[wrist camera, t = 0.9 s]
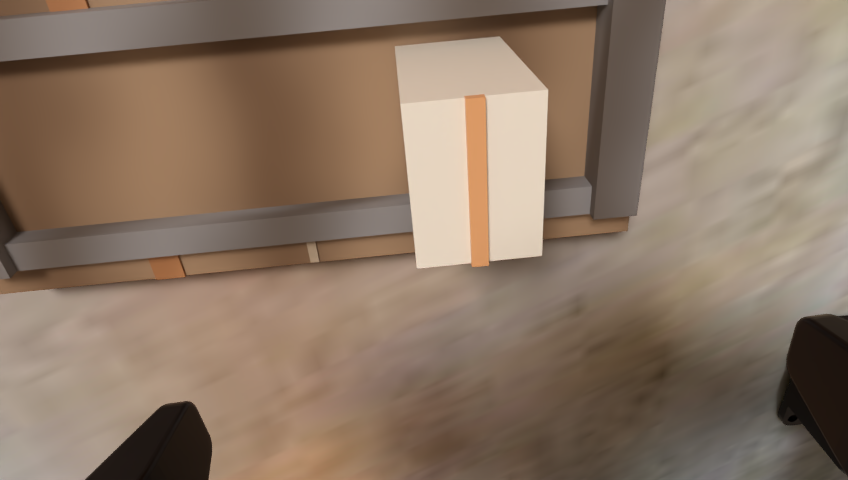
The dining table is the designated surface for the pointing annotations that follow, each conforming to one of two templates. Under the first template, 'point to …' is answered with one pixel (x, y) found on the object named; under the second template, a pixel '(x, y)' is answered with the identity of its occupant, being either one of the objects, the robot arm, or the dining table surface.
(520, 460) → the dining table surface
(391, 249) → the brown wooden tray
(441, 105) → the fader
